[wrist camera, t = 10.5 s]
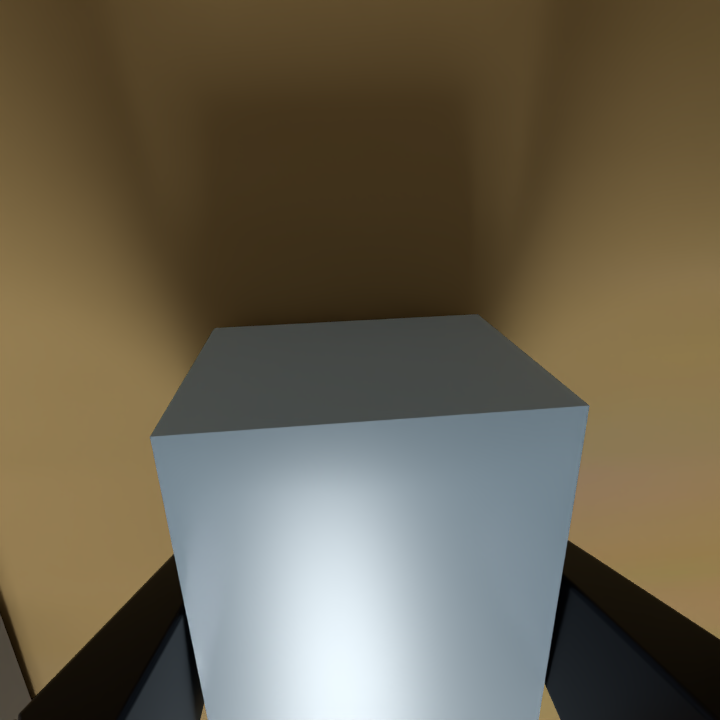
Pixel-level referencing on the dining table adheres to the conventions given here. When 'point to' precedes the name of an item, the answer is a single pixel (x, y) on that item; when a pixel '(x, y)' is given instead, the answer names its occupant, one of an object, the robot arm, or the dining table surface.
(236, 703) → the slate brick
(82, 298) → the dining table surface
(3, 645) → the charcoal base brick
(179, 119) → the dining table surface
